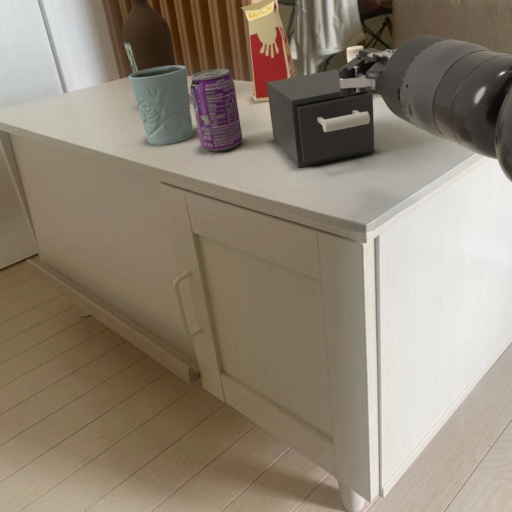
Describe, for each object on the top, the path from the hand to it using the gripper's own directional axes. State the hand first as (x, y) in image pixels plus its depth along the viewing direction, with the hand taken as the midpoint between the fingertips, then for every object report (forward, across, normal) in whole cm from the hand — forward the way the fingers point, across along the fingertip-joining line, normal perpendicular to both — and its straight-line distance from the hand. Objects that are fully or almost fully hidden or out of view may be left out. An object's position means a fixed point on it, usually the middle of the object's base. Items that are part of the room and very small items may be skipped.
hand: (364, 58), depth 60 cm
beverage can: (+29, +14, +16) cm, 36 cm away
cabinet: (+19, 0, +16) cm, 25 cm away
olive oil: (+70, +22, +16) cm, 76 cm away
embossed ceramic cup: (+41, +22, +16) cm, 49 cm away
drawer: (+15, 0, +15) cm, 21 cm away
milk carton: (+58, -2, +16) cm, 60 cm away
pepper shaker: (+43, -15, +16) cm, 48 cm away
